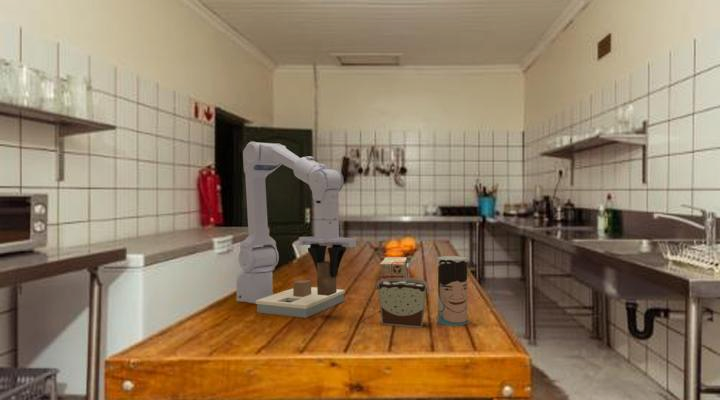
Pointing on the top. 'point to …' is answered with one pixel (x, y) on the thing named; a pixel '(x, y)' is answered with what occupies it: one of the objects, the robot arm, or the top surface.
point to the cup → (452, 290)
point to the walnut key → (325, 279)
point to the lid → (298, 296)
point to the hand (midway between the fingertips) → (327, 276)
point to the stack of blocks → (394, 268)
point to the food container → (402, 301)
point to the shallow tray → (299, 311)
